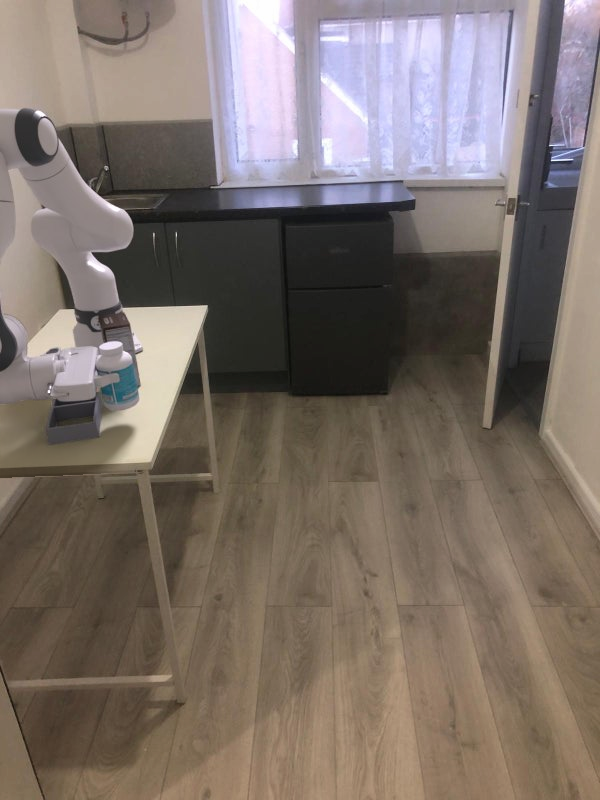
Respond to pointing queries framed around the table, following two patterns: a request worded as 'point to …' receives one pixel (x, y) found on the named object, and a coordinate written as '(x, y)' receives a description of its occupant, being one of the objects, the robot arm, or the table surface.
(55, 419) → the parts tub
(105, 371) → the pill bottle
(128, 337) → the coffee box
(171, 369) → the table surface
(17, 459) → the table surface
